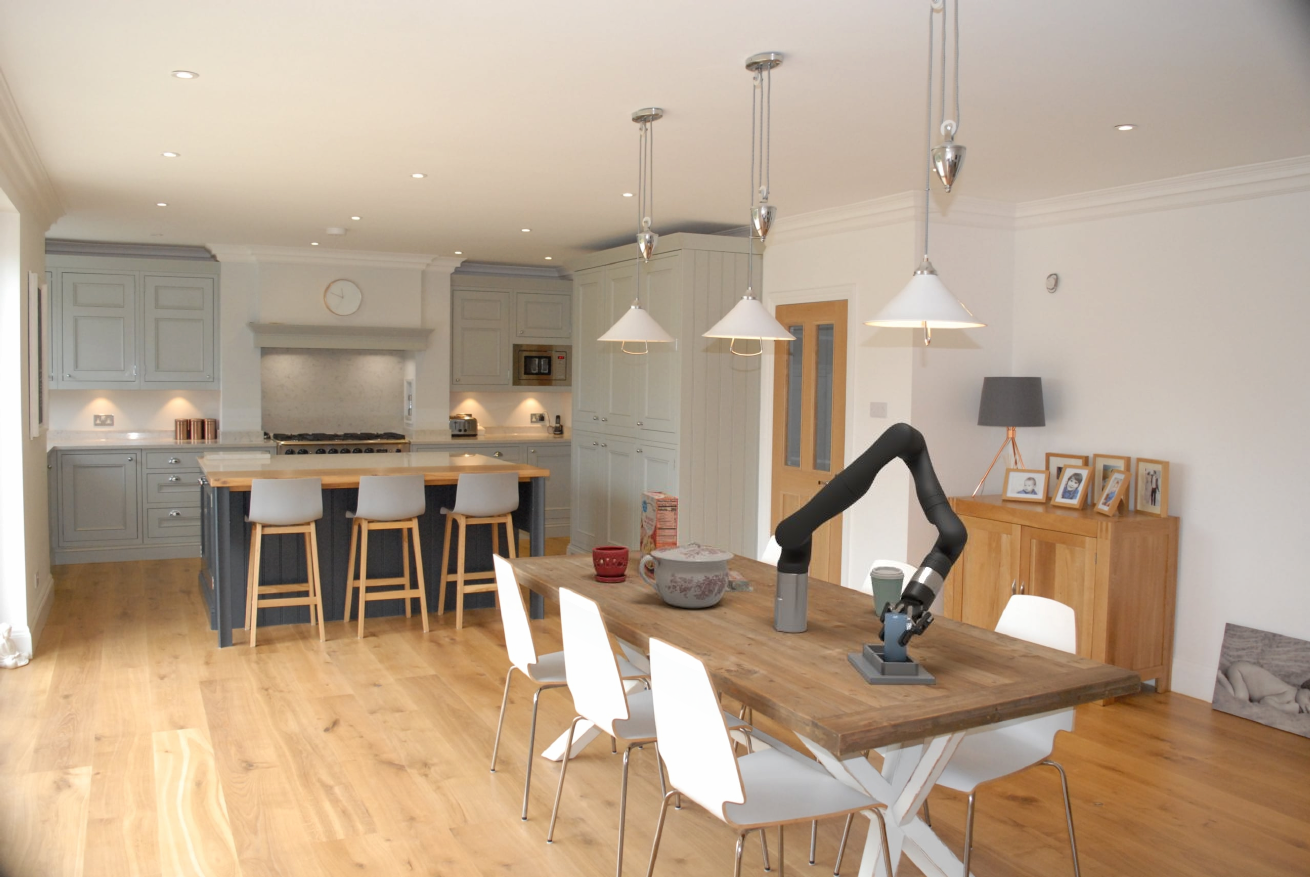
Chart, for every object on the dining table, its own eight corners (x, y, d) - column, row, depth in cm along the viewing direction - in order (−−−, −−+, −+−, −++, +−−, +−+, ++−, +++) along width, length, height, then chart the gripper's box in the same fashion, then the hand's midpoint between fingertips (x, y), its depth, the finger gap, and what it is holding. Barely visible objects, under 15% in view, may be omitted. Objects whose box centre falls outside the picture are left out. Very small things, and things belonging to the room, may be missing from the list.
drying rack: (869, 684, 233) (870, 665, 233) (847, 658, 255) (847, 641, 255) (935, 684, 234) (935, 666, 234) (906, 659, 256) (907, 642, 256)
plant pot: (630, 577, 357) (630, 545, 357) (625, 584, 344) (626, 551, 344) (595, 576, 359) (595, 544, 358) (589, 583, 346) (589, 549, 345)
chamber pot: (744, 601, 323) (746, 539, 322) (714, 617, 298) (716, 550, 297) (668, 591, 334) (669, 532, 333) (633, 607, 309) (634, 542, 308)
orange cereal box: (639, 568, 376) (641, 491, 375) (659, 568, 378) (661, 491, 377) (654, 580, 354) (656, 498, 353) (675, 579, 356) (678, 498, 355)
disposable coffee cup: (903, 620, 300) (905, 572, 299) (868, 618, 302) (870, 570, 301) (902, 613, 310) (904, 566, 310) (867, 610, 312) (869, 564, 312)
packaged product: (754, 579, 338) (726, 579, 336) (754, 593, 338) (726, 593, 337) (742, 569, 356) (715, 569, 354) (742, 582, 356) (715, 582, 354)
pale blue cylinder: (887, 665, 237) (888, 617, 237) (880, 659, 243) (882, 612, 242) (909, 665, 238) (911, 617, 237) (902, 659, 243) (904, 612, 243)
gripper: (893, 575, 249) (861, 627, 243) (940, 584, 238) (908, 639, 231) (905, 593, 253) (874, 644, 246) (952, 603, 242) (921, 658, 235)
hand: (890, 641), depth 239 cm, fingers closed on pale blue cylinder, 5 cm apart
